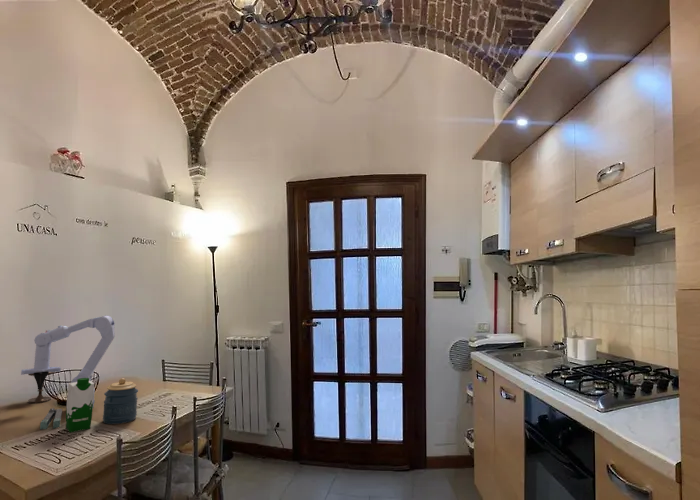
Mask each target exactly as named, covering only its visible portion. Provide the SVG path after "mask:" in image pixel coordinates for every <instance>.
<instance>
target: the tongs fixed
mask: <svg viewBox="0 0 700 500" xmlns="http://www.w3.org/2000/svg"><path fill="white" fill-rule="evenodd" d="M48 412H54V418H53V420H52V421H53V423H52V429H56V428H57V429H58V427H59V428H60V427H61V420H62V416H63V408H57V409H55V408H54V407H52V408H50V409H49V410H48Z"/></svg>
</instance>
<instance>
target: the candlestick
mask: <svg viewBox="0 0 700 500" xmlns="http://www.w3.org/2000/svg"><path fill="white" fill-rule="evenodd" d="M45 332H47V330H45ZM41 372H42V371H41ZM55 373H56V372H49V373H48V375H53V374H55ZM41 374H42V373H41ZM27 375H28V376H31V377H34V373H33V374H27ZM48 375H47V376H48ZM40 383H41V379H40ZM44 387H45V384H44V383H43V386H42V389H37V392H38V394H37V396H36V397H33V398H30V399H28V400H27V403H29V404H42V403H47V402H49V401H50V402H51V400H52V397H50V396H43V392H44V389H43V388H44Z"/></svg>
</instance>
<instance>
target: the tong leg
mask: <svg viewBox="0 0 700 500" xmlns="http://www.w3.org/2000/svg"><path fill="white" fill-rule="evenodd" d="M54 419H55V416H54V412H49V411H48V412H47V413H46V415H45V416H44V418H43V419H41V421H40V423H39V424H40V425H39V426H40V427H39V430H47V429H48V427H49V426H50V424H51V422H52V421H53V420H54Z"/></svg>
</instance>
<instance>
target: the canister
mask: <svg viewBox="0 0 700 500" xmlns="http://www.w3.org/2000/svg"><path fill="white" fill-rule="evenodd" d="M136 387H137V384H136V383H134V382H133V381H127V380H126V378H124V377H121V378H120V379H119V380H118V382H117V381H116V382H113V383H111V384H110V385H109V386H107V387H106V389H107V391H105V392H104V396H105V397H104V398H105V399H104V400H103V414H102V422H103V423H104V424H107V425H120V424H126V423H130V422H132V421H134V420H135V419H136V418H137V415H138V411H137V409H138V408H137V407H138V396H137V394H138V393H139V389H137V388H136Z"/></svg>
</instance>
